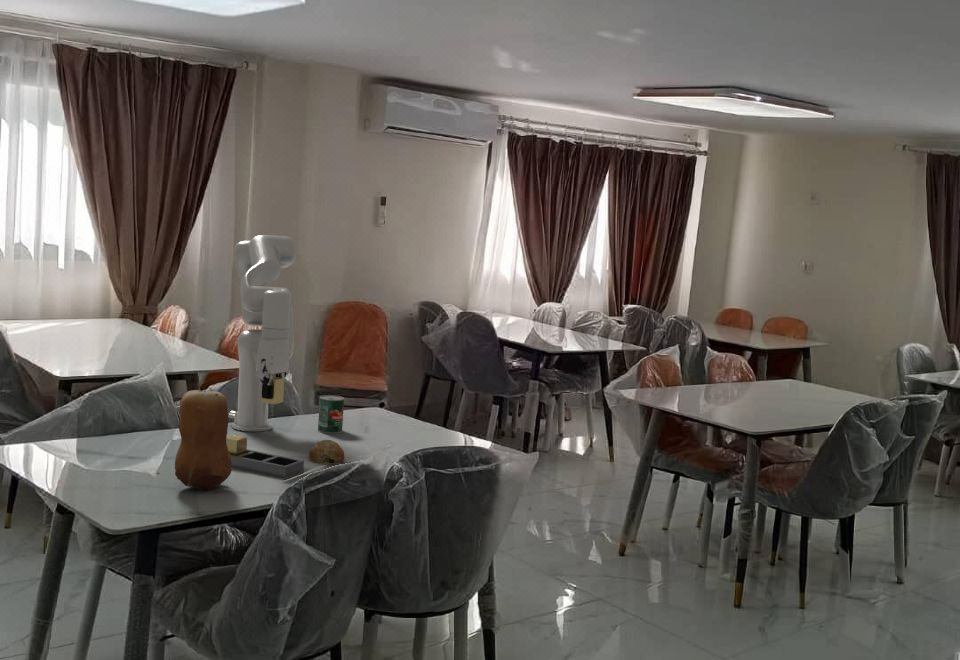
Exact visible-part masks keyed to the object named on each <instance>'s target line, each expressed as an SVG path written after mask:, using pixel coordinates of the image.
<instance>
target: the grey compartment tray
mask: <svg viewBox="0 0 960 660" xmlns="http://www.w3.org/2000/svg"><path fill="white" fill-rule="evenodd" d="M230 456H231V461H232V465H231V468H232V469H238V470H242V471H243V470H244V471H248V472H253V473H258V474H262V475H267V476H271V477H272V476H273V477H277V478H281V479H282V478H283V481H287V480H289V479H292V478H295V477H298V476H300V475H302V474H303V475H304V472H305V471H304V469H305V466H304V465H305V460H302V459H297V458H292V457H289V456H288V457H287V456H284V455H278V454H272V453H269V452H268V453H267V452H262V451H258V450H257V451H256V450H251V449H248V448H247V452H246V453H245V454H242V455H239V456H234V455H230Z"/></svg>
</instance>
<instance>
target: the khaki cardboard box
mask: <svg viewBox="0 0 960 660" xmlns="http://www.w3.org/2000/svg"><path fill="white" fill-rule="evenodd" d="M226 443H227V448H228V450H229V453H230V455H234V456H239V455H242V454H245V453H246V452H247V449H248V448H247V446H248V436H242V435H236V434H231V435H228V436H227V437H226Z"/></svg>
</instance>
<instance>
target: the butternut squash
mask: <svg viewBox="0 0 960 660" xmlns="http://www.w3.org/2000/svg"><path fill="white" fill-rule="evenodd" d="M179 403H180V405H179V421H178V430H179V435H180V444H179V446H178V449H177V452H176V455H175V460H174V470H175V471H174V474H175V476H176V478H177V480H179V481H180V482H181V483H182V484H183V485H184V486H186V487H189V488H192V489H197V488H198V490H200V489H202V490H201V491H205V490H206V491H209V489H210V490H214V489H215V488H217V487H218V486H220V485H221V484H222V483H224V482H225V481H226V480H227V479H228V478H229V477H230V475H231V473H232V467H231V465H232V461H231V456H230V453H229V450H228V448H227V443H226V437H228V436H227V435H228V430H229V417H228V415H229V408H228V402H227V399H226V396H225V395H224V394H223V393H222V392H219V391H214V390H212V391H211V390H209V391H207V390H197V389H194V390H189V391H187V392H185V393H184V394H183V396H182V398H181V401H180V402H179Z"/></svg>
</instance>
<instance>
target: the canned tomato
mask: <svg viewBox="0 0 960 660" xmlns="http://www.w3.org/2000/svg"><path fill="white" fill-rule="evenodd" d="M318 403H319V404H318V418H317V419H318V422H317V431H318V432H319V433H323V434H330V435H331V434H341V433H342V432H343V424H344V423H343V421H344V407H345V397H343V396H341V395H335V394H334V395H331V394H328V395H325V394H324V395H320V396H319V402H318Z"/></svg>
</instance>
